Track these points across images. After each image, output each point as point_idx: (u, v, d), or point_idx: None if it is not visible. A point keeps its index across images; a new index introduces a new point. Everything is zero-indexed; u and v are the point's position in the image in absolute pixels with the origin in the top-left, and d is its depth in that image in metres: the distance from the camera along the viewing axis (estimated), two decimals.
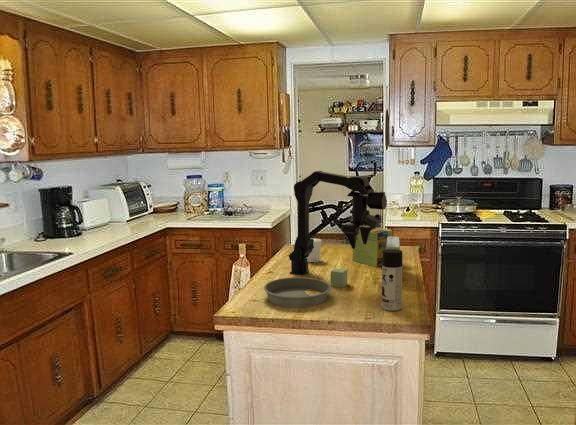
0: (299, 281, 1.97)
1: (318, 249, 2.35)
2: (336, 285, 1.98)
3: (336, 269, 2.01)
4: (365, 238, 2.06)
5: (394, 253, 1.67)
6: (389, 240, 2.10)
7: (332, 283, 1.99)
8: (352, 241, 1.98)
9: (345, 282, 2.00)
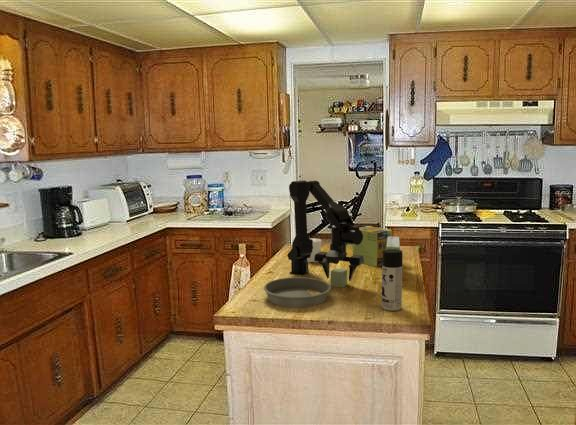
0: (299, 281, 1.97)
1: (318, 249, 2.35)
2: (336, 285, 1.98)
3: (336, 269, 2.01)
4: None
5: (394, 253, 1.67)
6: (389, 240, 2.10)
7: (332, 283, 1.99)
8: None
9: (345, 282, 2.00)
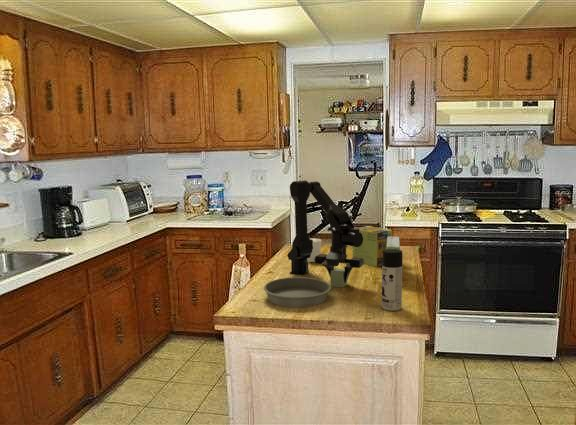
0: (299, 281, 1.97)
1: (318, 249, 2.35)
2: (336, 285, 1.98)
3: (336, 269, 2.01)
4: None
5: (394, 253, 1.67)
6: (389, 240, 2.10)
7: (332, 283, 1.99)
8: None
9: None
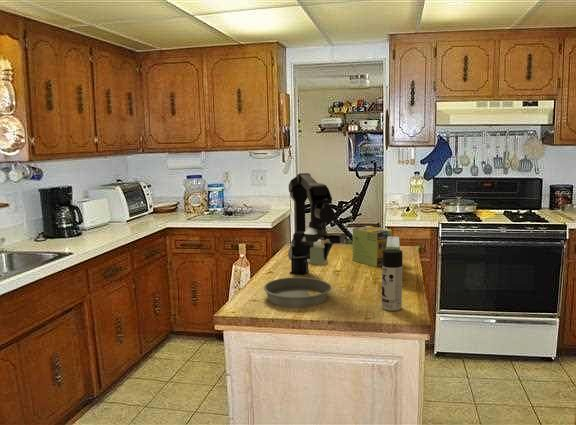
0: (299, 281, 1.97)
1: None
2: (316, 262, 1.89)
3: (316, 246, 1.92)
4: None
5: (394, 253, 1.67)
6: (389, 240, 2.10)
7: (311, 260, 1.90)
8: None
9: None
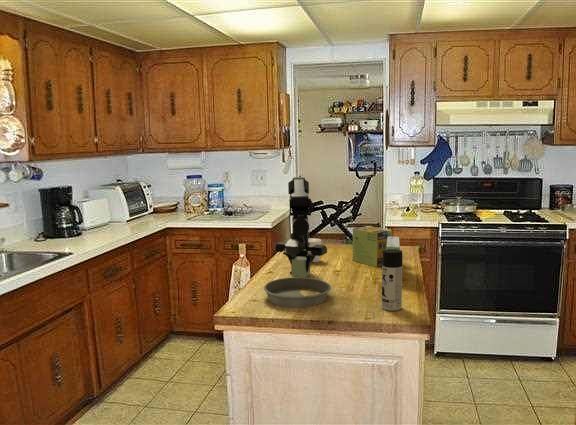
0: (299, 281, 1.97)
1: None
2: (297, 274, 1.85)
3: (298, 257, 1.87)
4: None
5: (394, 253, 1.67)
6: (389, 240, 2.10)
7: (293, 272, 1.85)
8: None
9: None
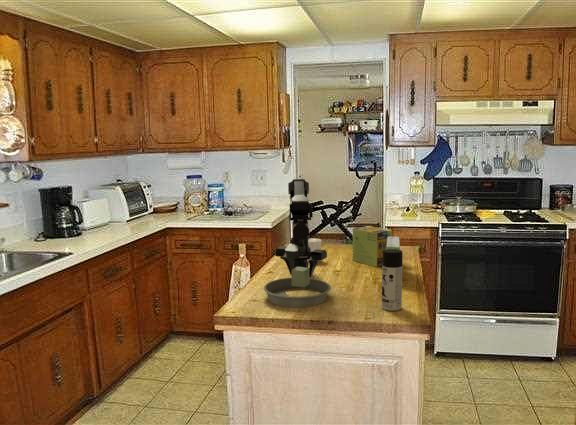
0: None
1: None
2: (297, 285, 1.85)
3: (297, 268, 1.88)
4: None
5: (394, 253, 1.67)
6: (389, 240, 2.10)
7: (293, 282, 1.86)
8: None
9: (307, 281, 1.87)
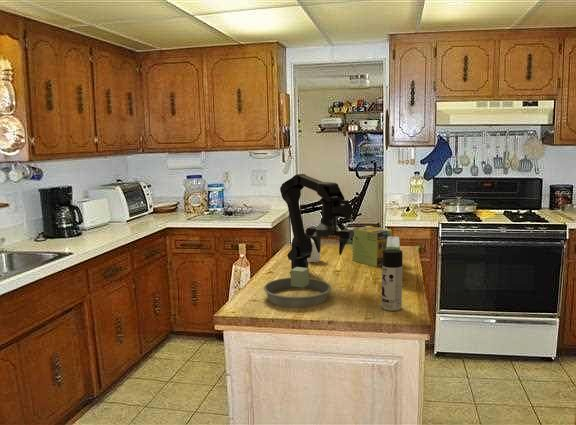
0: None
1: None
2: (296, 285, 1.85)
3: (297, 268, 1.87)
4: None
5: (394, 253, 1.67)
6: (389, 240, 2.10)
7: (292, 283, 1.85)
8: None
9: (306, 282, 1.86)
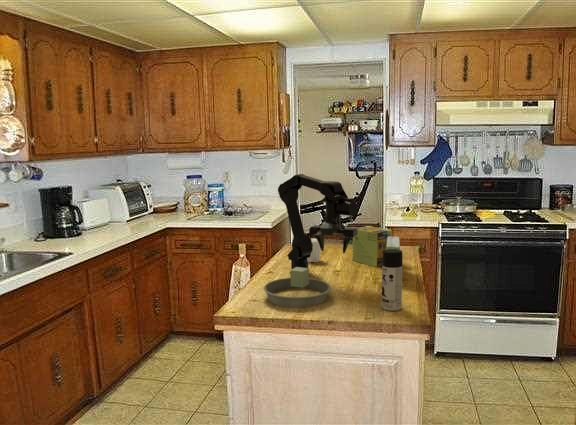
0: None
1: (318, 249, 2.35)
2: (296, 285, 1.85)
3: (297, 268, 1.87)
4: None
5: (394, 253, 1.67)
6: (389, 240, 2.10)
7: (292, 283, 1.85)
8: None
9: (306, 282, 1.86)
